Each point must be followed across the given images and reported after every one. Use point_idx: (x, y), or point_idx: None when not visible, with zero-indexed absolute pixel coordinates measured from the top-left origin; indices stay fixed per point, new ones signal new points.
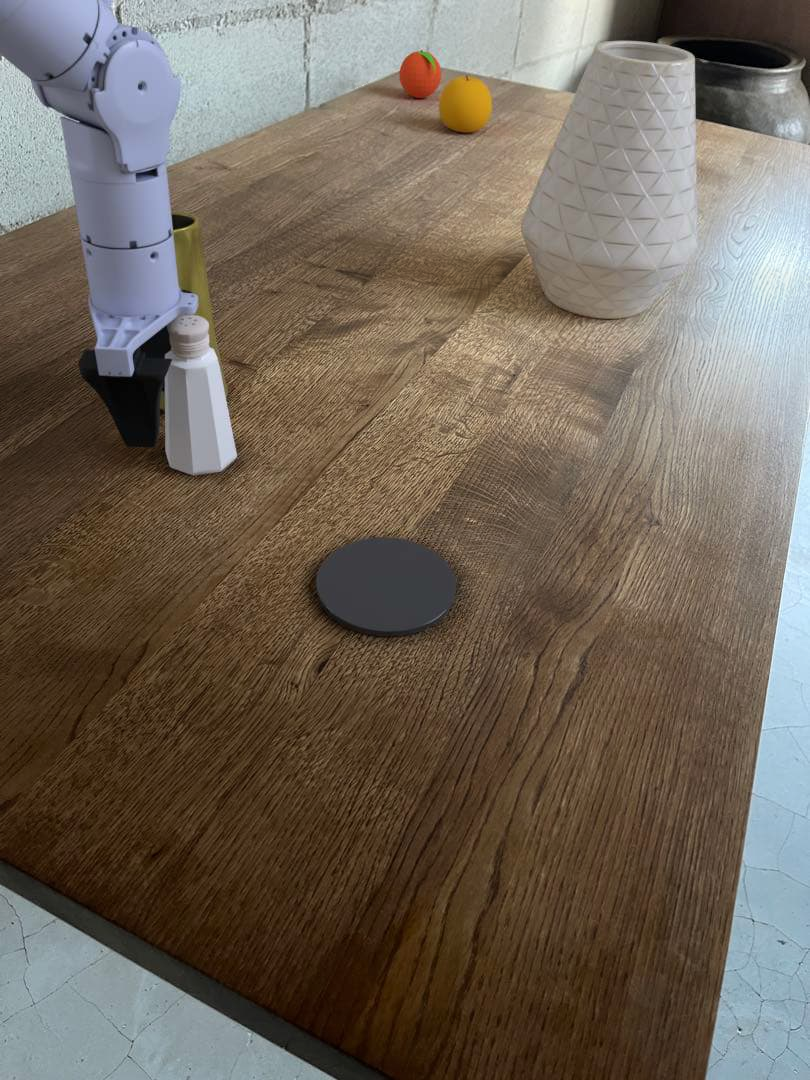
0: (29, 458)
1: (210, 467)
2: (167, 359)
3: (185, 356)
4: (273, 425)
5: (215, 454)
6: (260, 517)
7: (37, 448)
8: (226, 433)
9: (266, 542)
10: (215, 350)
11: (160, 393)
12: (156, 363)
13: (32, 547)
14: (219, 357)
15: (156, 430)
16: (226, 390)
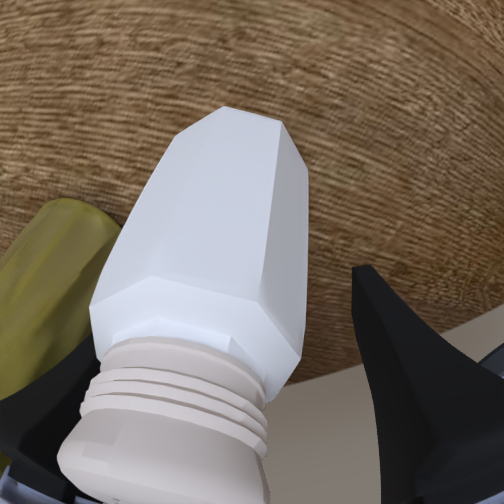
0: (297, 369)
1: (291, 143)
2: (457, 454)
3: (264, 398)
4: (91, 85)
5: (283, 140)
6: (406, 23)
7: None
8: (237, 132)
9: (463, 14)
10: (11, 266)
11: (416, 356)
12: (475, 455)
13: (462, 309)
14: (10, 249)
15: (389, 287)
16: (49, 205)
